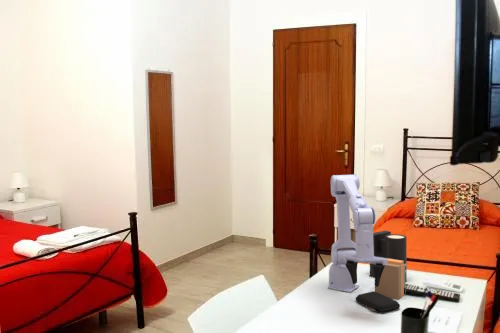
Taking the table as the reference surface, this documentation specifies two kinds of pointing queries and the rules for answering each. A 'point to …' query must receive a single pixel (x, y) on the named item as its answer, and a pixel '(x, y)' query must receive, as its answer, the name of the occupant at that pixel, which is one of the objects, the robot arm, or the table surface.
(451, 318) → the table surface
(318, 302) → the table surface
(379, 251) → the light fixture
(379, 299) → the carrying case or bag
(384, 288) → the tan upright slab
